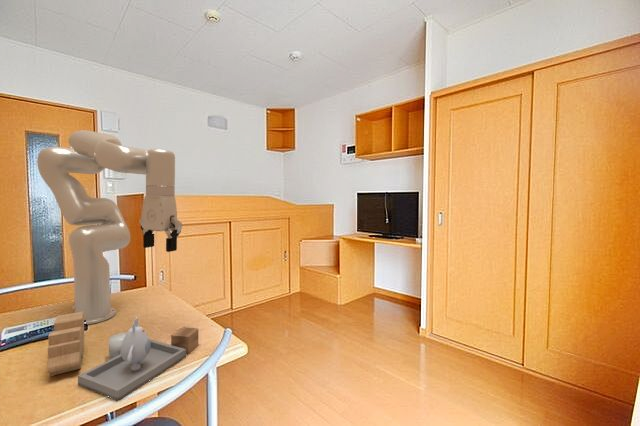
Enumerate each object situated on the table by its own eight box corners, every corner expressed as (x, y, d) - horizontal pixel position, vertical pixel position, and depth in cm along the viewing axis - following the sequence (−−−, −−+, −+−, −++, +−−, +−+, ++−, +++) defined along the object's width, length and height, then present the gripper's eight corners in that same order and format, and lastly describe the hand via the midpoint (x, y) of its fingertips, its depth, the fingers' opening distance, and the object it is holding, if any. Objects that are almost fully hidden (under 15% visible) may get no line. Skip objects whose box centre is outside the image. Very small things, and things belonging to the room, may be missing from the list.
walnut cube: (171, 353, 80) (171, 335, 79) (182, 344, 84) (181, 327, 84) (188, 354, 79) (188, 336, 79) (198, 345, 84) (198, 328, 84)
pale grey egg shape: (104, 357, 77) (104, 339, 76) (123, 348, 81) (123, 331, 81) (117, 362, 75) (117, 343, 74) (136, 352, 79) (135, 334, 79)
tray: (78, 385, 66) (77, 375, 65) (150, 346, 82) (150, 339, 82) (117, 401, 61) (117, 390, 61) (186, 357, 78) (186, 349, 77)
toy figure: (144, 378, 68) (143, 327, 67) (113, 382, 66) (112, 330, 65) (155, 353, 78) (155, 309, 77) (128, 357, 76) (128, 311, 75)
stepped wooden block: (47, 383, 66) (46, 340, 65) (58, 350, 80) (57, 314, 79) (79, 375, 69) (78, 334, 68) (84, 344, 83) (83, 309, 82)
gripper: (128, 190, 87) (128, 247, 88) (170, 193, 80) (169, 255, 81) (152, 191, 94) (151, 243, 95) (192, 193, 87) (191, 250, 88)
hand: (159, 249), depth 88 cm, fingers open, 9 cm apart
